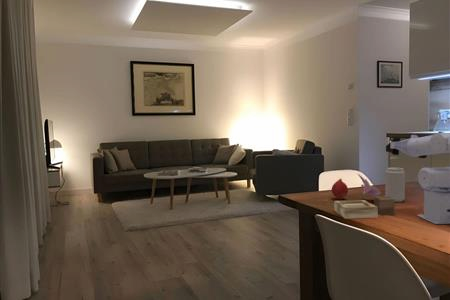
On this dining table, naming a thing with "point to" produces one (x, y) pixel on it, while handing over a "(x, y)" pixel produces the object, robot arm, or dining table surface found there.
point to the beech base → (356, 209)
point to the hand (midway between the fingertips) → (396, 149)
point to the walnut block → (384, 205)
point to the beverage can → (395, 184)
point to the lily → (369, 188)
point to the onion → (339, 189)
